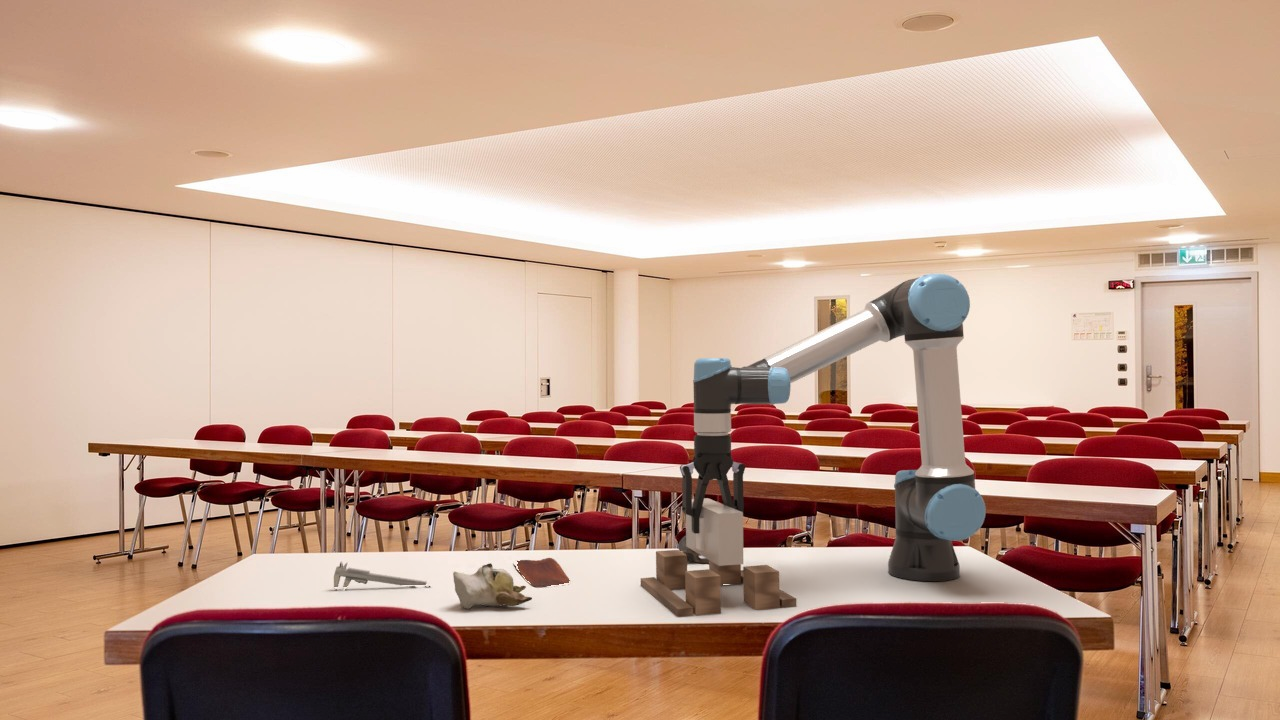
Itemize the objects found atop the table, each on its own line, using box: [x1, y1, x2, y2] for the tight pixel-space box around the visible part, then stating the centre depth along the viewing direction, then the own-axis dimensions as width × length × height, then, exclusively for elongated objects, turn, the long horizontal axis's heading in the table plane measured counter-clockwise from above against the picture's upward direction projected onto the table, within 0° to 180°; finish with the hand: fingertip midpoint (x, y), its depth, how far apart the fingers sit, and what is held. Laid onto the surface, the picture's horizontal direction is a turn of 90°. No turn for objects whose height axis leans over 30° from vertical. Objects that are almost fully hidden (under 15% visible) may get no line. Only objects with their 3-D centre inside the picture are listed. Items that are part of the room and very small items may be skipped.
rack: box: [640, 549, 797, 618], centre depth 187 cm, size 24×26×7 cm
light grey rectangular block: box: [685, 497, 744, 566], centre depth 187 cm, size 5×20×10 cm, turn 15°
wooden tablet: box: [516, 557, 571, 588], centre depth 209 cm, size 27×10×2 cm, turn 15°
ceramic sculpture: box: [452, 563, 533, 610], centre depth 182 cm, size 11×9×15 cm
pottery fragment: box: [677, 535, 709, 564], centre depth 224 cm, size 15×12×4 cm
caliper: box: [333, 561, 428, 588], centre depth 197 cm, size 20×1×6 cm, turn 96°
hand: (713, 548), depth 187 cm, fingers closed on light grey rectangular block, 5 cm apart
